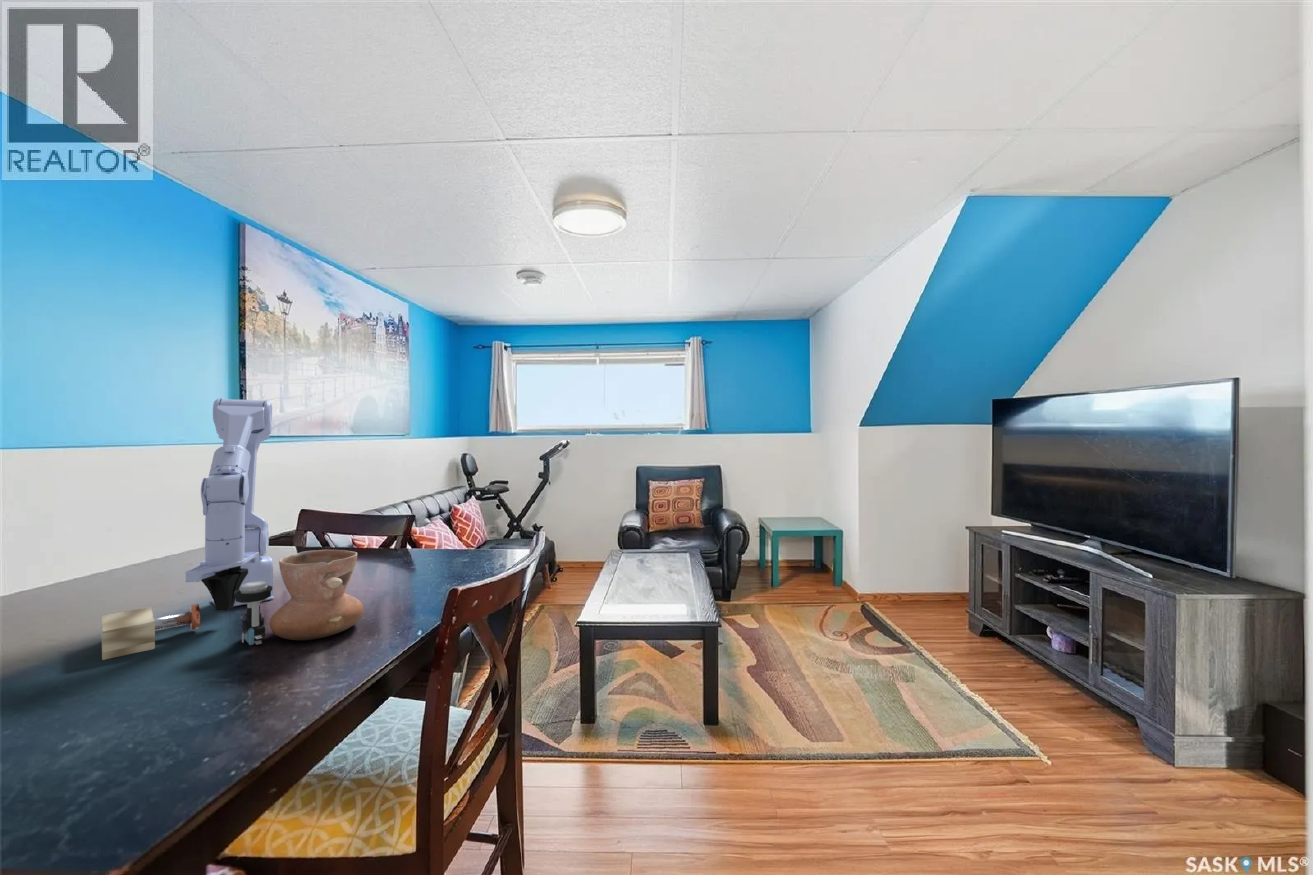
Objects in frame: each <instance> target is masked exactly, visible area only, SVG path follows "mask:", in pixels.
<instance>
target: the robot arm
mask: <svg viewBox="0 0 1313 875" xmlns="http://www.w3.org/2000/svg"><path fill="white" fill-rule="evenodd" d="M272 405H273V404H272V402H271V401H270V400H269V399H265V400H261V399H258V400H257V399H233V398H232V399H231V398H222V397H221V398H220V397H217V399H215V400H214V401H213V405H212V420H213V424H214V427H215V431H216V433H217V435H218V438H219V439H221V440H223V442H222V443H223V444H222V446H220V447H218V448H217V449H215V451H214V453H213V456H212V459H211V460H212V461H211V465H210V469H209V474H208V477H203V478H202V480H201V485H200V499H201V503H202V513H203V516H205V518H204V519H205V520H204V521H205V522H204V523H205V524H204V526H205V527H204V539H205V540H204V560H202V561H200V562H199V565H198V566H195V567H193V568H192V569H189V570H186V571H185V583H199V582H201V583H203V584H204V586H205V588H206V589H207V590H208V591H209V594H210V596H211V602H212V604H213V605H214V607H215V609H216V611H217V612H221V611H223V612H225V611H230V610H232V609H233V608H234V607H239V606H242V605H245V604H241V603H240V602H236V596H235V595H234V592H235V591H236V590H239V589H241V585H243V584H245V583H249V582H256V581H264V582H266V585H268V586H272V587H273V589H272V591H271V596H270V597H268V598H266V600H265V601H270V600H274V597H275V596H274V562H273V559H272V557H271V556H268V555H267V553H268V552H269V542H270V540H269V538H270V536H269V524H268V522H267V520H266V519H265V518H263V517H261V516H259V515H258V514H256V513H254V506H255V491H256V476H257V459H258V458H257V457H258V450H259V448H260V446H261V442H265V441H267V440H269V439H270V436H271V434H272V422H273V406H272ZM266 555H267V556H266Z"/></svg>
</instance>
